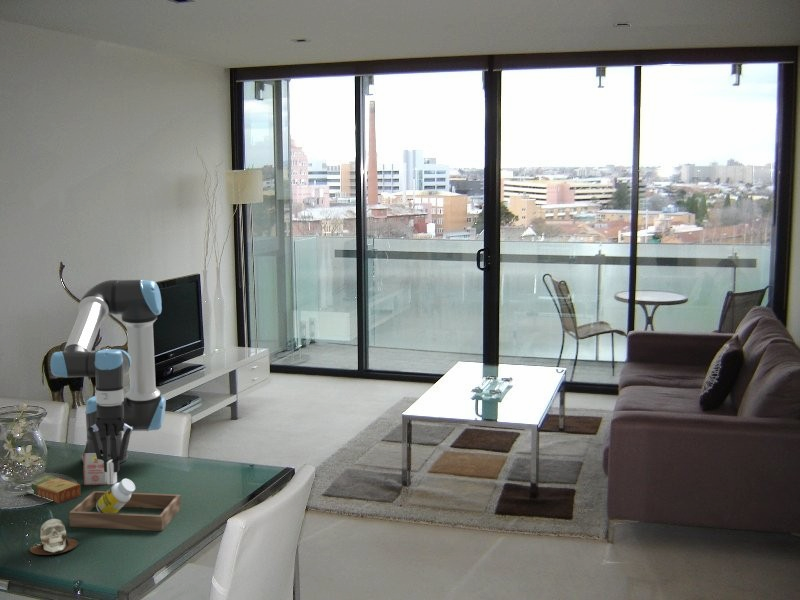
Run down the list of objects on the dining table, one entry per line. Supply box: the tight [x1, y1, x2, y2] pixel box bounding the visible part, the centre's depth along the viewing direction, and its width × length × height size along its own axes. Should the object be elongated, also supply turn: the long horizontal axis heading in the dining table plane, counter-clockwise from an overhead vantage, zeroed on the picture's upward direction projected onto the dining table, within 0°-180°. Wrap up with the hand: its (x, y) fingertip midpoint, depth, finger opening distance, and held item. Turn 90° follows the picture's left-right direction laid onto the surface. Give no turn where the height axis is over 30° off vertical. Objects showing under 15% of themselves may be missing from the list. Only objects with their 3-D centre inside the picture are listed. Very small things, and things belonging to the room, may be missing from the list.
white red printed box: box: [82, 453, 107, 486], centre depth 283 cm, size 4×7×10 cm, turn 98°
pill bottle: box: [95, 478, 136, 513], centre depth 254 cm, size 6×6×12 cm
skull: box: [29, 518, 79, 556], centre depth 234 cm, size 12×10×10 cm
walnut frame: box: [68, 490, 182, 532], centre depth 256 cm, size 17×27×4 cm, turn 86°
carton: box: [31, 474, 81, 504], centre depth 272 cm, size 8×16×4 cm, turn 58°
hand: (112, 482), depth 253 cm, fingers closed
